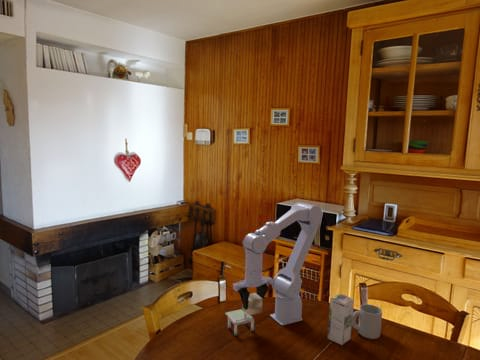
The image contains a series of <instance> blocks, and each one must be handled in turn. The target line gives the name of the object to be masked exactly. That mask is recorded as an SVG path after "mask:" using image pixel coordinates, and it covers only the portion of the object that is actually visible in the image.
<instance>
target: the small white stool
mask: <svg viewBox="0 0 480 360" xmlns="http://www.w3.org/2000/svg"><path fill="white" fill-rule="evenodd" d="M247 317H248V318H249V319H247ZM231 323H232V324H233V327H234V328H233V336H237V335H238V325H247V323H250V332H254V330H255V329H254V328H255V318H254V317H253V316H252V315H248V314H247V313H246V312H245V311H244V320H241V321H237V322H236V321H235V320H234V319H233V318H232V317H231V316H230V315H228V316H227V329H231Z"/></svg>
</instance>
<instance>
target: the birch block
mask: <svg viewBox="0 0 480 360" xmlns="http://www.w3.org/2000/svg"><path fill="white" fill-rule="evenodd" d="M241 304H242V303H241ZM241 309H242V310H243V311H244V312H246V313H247V314H248V315H251V316H252V315H256V314H261V313H263V302H262V298H261V297H260V296H259V295H257V292H253V293H251V292H250V295H249V299H248V309H247V310H245V309H244V308H243V304H242V307H241Z"/></svg>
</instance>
